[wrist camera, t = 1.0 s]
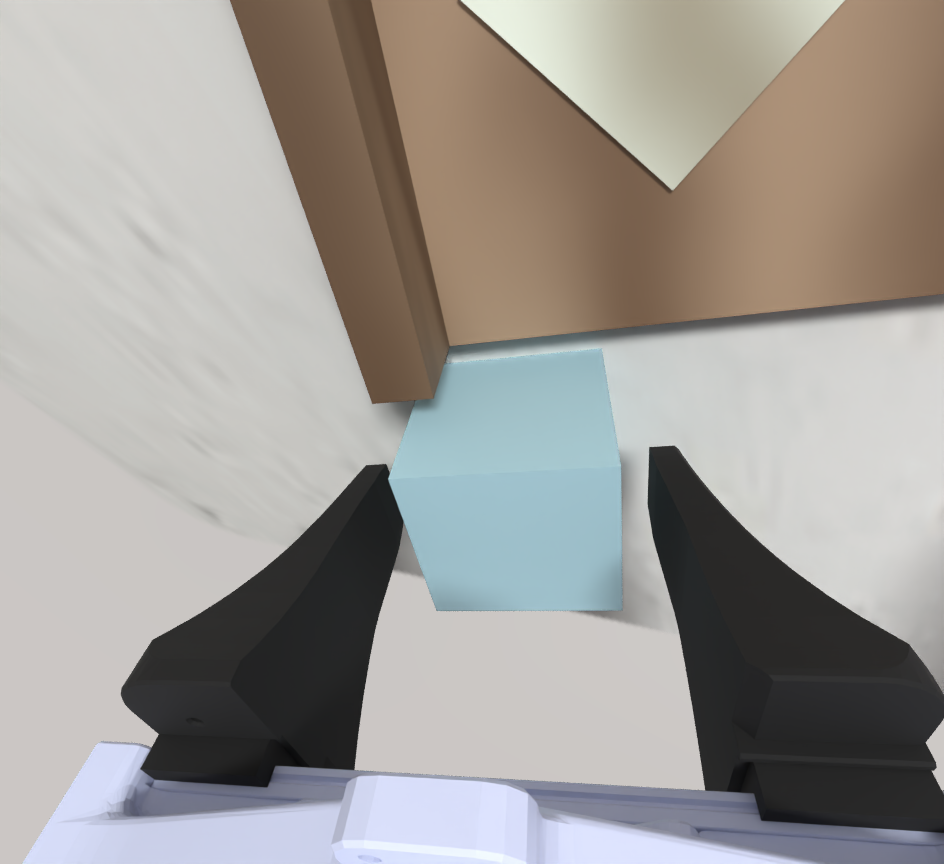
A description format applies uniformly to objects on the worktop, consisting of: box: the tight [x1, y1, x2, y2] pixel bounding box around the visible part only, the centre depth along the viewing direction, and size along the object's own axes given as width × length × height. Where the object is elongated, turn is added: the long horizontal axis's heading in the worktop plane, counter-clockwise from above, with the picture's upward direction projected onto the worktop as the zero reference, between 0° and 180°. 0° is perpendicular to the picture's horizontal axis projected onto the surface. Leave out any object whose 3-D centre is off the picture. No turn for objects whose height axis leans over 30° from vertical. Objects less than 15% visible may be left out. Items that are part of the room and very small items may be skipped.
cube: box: [388, 348, 622, 611], centre depth 15 cm, size 5×5×5 cm
